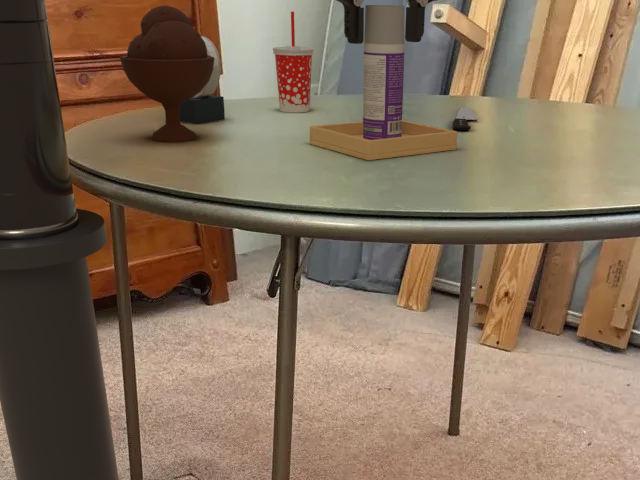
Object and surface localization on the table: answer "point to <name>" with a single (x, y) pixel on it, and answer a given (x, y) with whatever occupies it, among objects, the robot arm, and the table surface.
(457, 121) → the kitchen knife
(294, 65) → the beverage cup
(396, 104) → the container
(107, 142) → the table surface
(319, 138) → the tray
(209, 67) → the ice cream bowl
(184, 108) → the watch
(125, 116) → the table surface
